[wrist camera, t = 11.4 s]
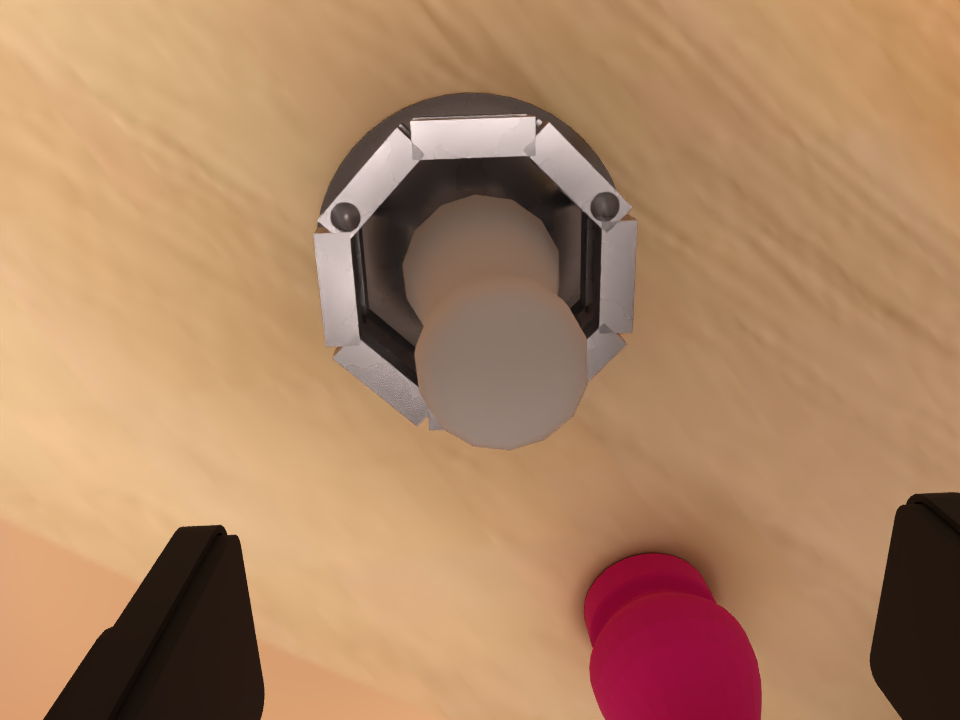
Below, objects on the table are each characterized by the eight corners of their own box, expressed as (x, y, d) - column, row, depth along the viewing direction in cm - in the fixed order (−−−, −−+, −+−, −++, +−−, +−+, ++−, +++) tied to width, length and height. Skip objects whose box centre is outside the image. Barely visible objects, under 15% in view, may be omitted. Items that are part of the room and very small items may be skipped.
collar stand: (629, 87, 28) (666, 87, 23) (618, 387, 32) (647, 436, 28) (300, 98, 27) (273, 100, 23) (334, 401, 32) (317, 454, 27)
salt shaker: (574, 285, 30) (669, 423, 18) (454, 353, 30) (464, 530, 18) (505, 157, 28) (557, 212, 16) (377, 233, 28) (332, 342, 16)
